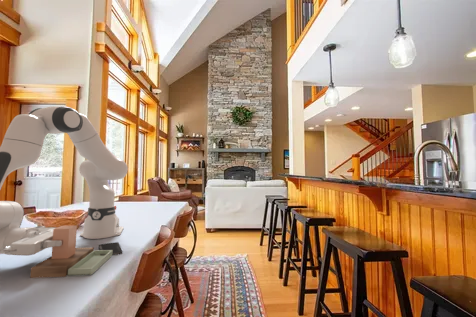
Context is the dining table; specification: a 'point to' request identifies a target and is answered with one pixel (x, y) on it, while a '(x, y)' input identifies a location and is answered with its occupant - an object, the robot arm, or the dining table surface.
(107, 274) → the dining table surface
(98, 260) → the box
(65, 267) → the platform
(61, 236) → the terracotta block
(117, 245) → the phone
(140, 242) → the dining table surface
